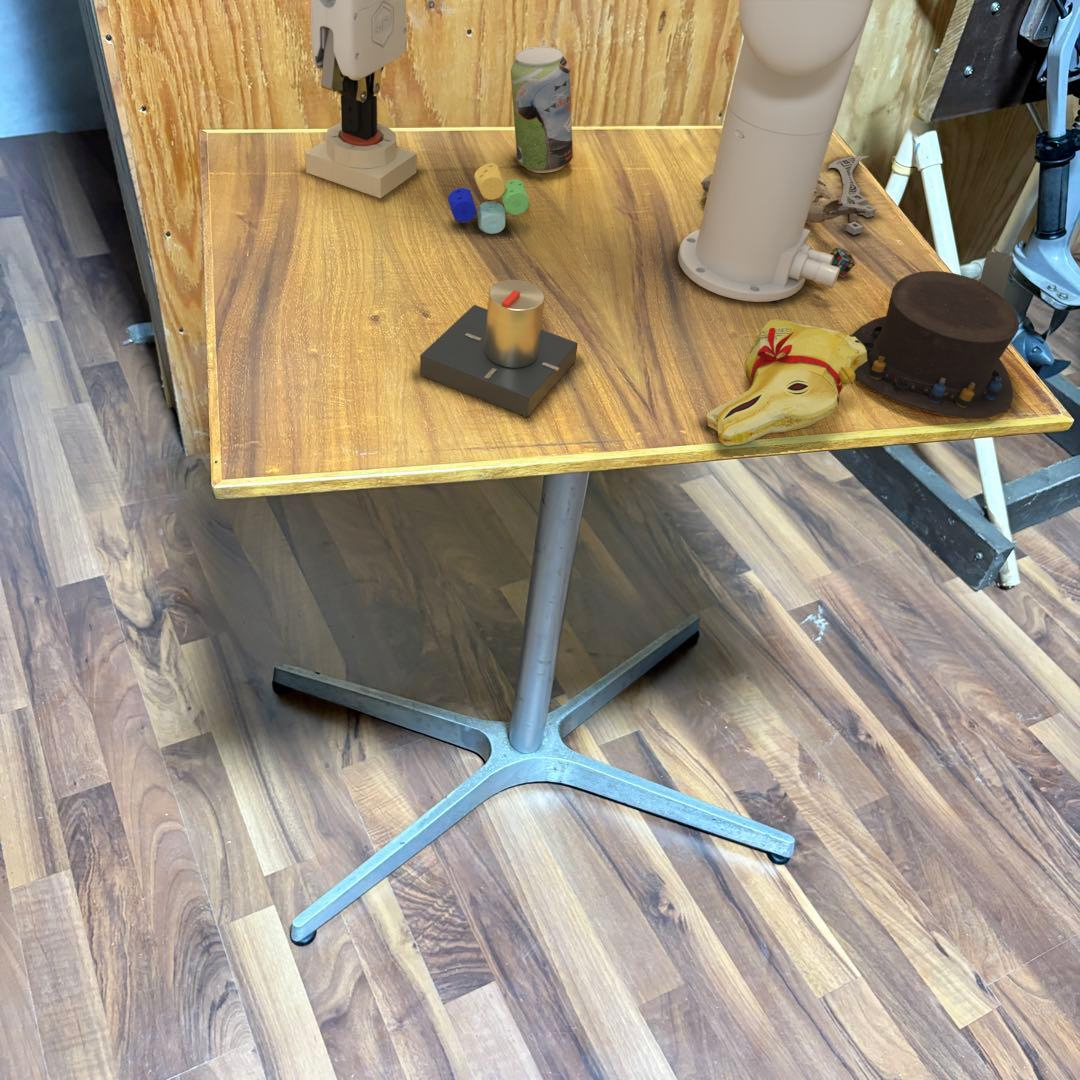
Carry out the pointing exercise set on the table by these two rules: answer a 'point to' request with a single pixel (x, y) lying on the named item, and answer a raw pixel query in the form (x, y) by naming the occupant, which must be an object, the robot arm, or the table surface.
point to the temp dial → (514, 323)
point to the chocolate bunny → (789, 381)
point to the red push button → (359, 141)
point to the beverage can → (542, 109)
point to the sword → (852, 193)
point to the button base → (362, 162)
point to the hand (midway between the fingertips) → (359, 133)
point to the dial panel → (495, 365)
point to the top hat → (944, 343)
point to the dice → (490, 188)
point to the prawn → (822, 213)
